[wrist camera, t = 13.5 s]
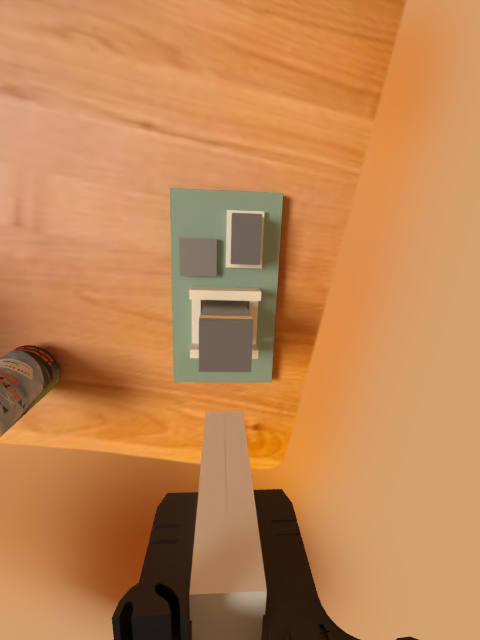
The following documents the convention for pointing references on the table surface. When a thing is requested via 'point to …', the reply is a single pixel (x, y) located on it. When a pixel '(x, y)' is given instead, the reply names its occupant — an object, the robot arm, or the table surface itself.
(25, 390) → the beverage can
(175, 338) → the board
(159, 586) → the robot arm
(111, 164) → the table surface
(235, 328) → the plug
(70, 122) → the table surface
